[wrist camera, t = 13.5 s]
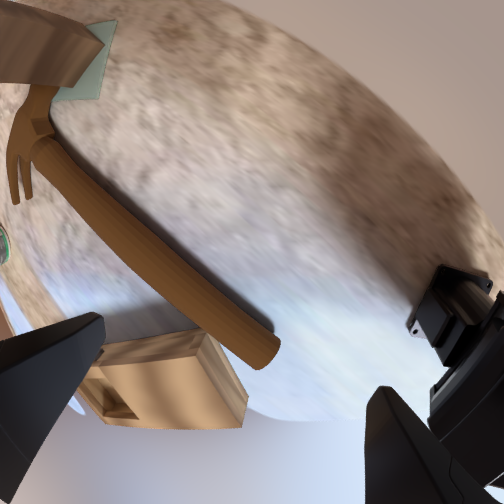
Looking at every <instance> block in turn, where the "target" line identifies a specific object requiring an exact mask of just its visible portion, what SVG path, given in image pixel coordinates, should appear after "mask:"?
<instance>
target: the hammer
mask: <svg viewBox="0 0 504 504" xmlns="http://www.w3.org/2000/svg"><path fill="white" fill-rule="evenodd" d="M59 89H60V87H59V86H49V85H37V84H31V85H30V89H29V94H28V97H27V99H26V101H25V102H24V104H23V105H22V106H21V107H20V108H19V109H18V111H17V113H16V115H15V118H14V121H13V125H12V129H11V132H10V136H9V140H8V145H7V151H6V167H7V175H8V181H9V187H10V193H11V198H12V203H13V205H17V204H19V203H20V197H19V189H18V172H17V171H18V170H17V168H18V166H17V163H18V156H19V155H20V169H21V175H22V181H23V186H24V192H25V198H26V200H29V199H31V198H32V197H33V195H32V187H31V177H30V161H32V162H33V164H34V166H35V168H36V169H37V170H38V171H39V172H40V173H41V174H42V175H43V176H44V177H45V178H46V179H47V180H48V181H49V182H50V183H51V184H52V185H53V186H54V187H55V188H56V189H57V190H59V192H60V193H61V194H62V195H63V196H64V198H65V199H66V200H67V201H68V202H69V203H70V205H71V206H72V207H73V208H74V209H75V210H76V211H77V213H78V214H79V215H80V216H81V217H82V218H83V219H84V220H85V222H86V223H87V224H88V225H89V226H90V227H91V228H92V229H93V230H94V231H95V233H96V234H97V235H98V236H99V237H100V238H101V239H102V240H103V241H104V242H105V243H106V244H107V245H108V246H109V247H110V248H111V249H112V250H113V252H114V253H115V254H116V255H117V256H118V257H119V258H120V259H121V260H122V261H123V262H124V263H125V264H126V265H127V266H128V267H130V268H131V269H132V270H133V271H134V272H135V273H136V274H137V275H138V276H139V277H141V278H142V279H143V280H144V281H145V282H146V283H147V284H149V285H150V286H151V287H152V288H153V289H154V290H155V291H157V292H158V293H159V294H160V295H161V296H162V297H164V298H165V299H166V300H167V301H168V302H170V303H171V304H172V305H173V306H174V307H176V308H177V309H178V310H179V311H180V312H182V313H183V314H184V315H185V316H187V317H188V318H189V319H190V320H192V321H193V322H194V323H195V324H197V325H198V326H199V327H200V328H202V329H203V330H204V331H205V332H207V333H208V334H209V335H211V336H212V337H213V338H215V339H216V340H217V341H218V342H220V343H221V344H222V345H223V346H225V347H226V348H227V349H229V350H230V351H231V352H232V353H234V354H235V355H236V356H237V357H239V358H240V359H241V360H243V361H244V362H245V363H247V364H248V365H249V366H251V367H252V368H253V369H255V370H260V369H262V368H264V367H265V366H267V365H268V364H269V363H270V362H271V361H272V360H273V358H274V357H275V356H276V354H277V352H278V350H279V348H280V345H281V340H280V339H279V338H278V337H277V336H275V335H274V334H273V333H271V332H270V331H269V330H267V329H266V328H265V327H263V326H262V325H261V324H259V323H258V322H257V321H255V320H254V319H253V318H252V317H250V316H249V315H248V314H246V313H245V312H244V311H243V310H241V309H240V308H239V307H238V306H237V305H235V304H234V303H233V302H232V301H231V300H229V299H228V298H227V297H226V296H225V295H223V294H222V293H221V292H220V291H219V290H217V289H216V288H215V287H214V286H213V285H212V284H210V283H209V282H208V281H207V280H206V279H205V278H203V277H202V276H201V275H200V274H199V273H198V272H197V271H195V270H194V269H193V268H192V267H191V266H190V265H189V264H187V263H186V262H185V261H184V260H183V259H182V258H181V257H180V256H178V255H177V254H176V253H175V252H174V251H173V250H172V249H171V248H169V247H168V246H167V245H166V244H165V243H164V242H163V241H162V240H161V239H160V238H158V237H157V236H156V235H155V234H154V233H153V232H152V231H150V230H149V229H148V228H147V227H146V226H145V225H143V224H142V223H141V222H140V221H139V220H138V219H136V218H135V217H134V216H133V215H132V214H131V213H129V212H128V211H127V210H126V209H125V208H124V207H123V206H121V205H120V204H119V203H118V202H117V201H116V200H115V199H113V198H112V197H111V196H110V195H109V194H108V193H107V192H106V191H104V190H103V189H102V188H101V187H100V186H99V185H98V184H97V183H95V182H94V181H93V180H92V179H91V178H90V177H89V176H88V175H87V174H86V173H84V172H83V171H82V170H81V169H80V168H79V167H78V166H77V165H76V164H75V162H74V161H73V160H72V159H71V158H70V157H69V155H68V154H67V153H66V152H65V150H64V149H63V148H62V146H61V145H60V144H59V143H58V142H56V141H54V140H53V139H54V136H55V132H54V130H53V128H52V126H51V124H50V122H49V120H48V112H49V108H50V104H51V101H52V99H53V98H54V97H55V95H56V94H57V92H58V91H59Z"/></svg>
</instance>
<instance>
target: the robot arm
mask: <svg viewBox="0 0 504 504" xmlns="http://www.w3.org/2000/svg"><path fill="white" fill-rule="evenodd" d="M443 269H444V272H443V273H441V271H442V270H443ZM488 283H489V284H488ZM487 284H488V286H487ZM492 286H493V282H492V280H490V279H489V278H486V277H483V276H480V275H477V274H474V273H471V272H468V271H465V270H461V269H458V268H455V267H452V266H448V265H445V264H441V265H439V266H438V268H437V270H436V272H435V274H434V277H433V279H432V282H431V284H430V286H429V288H428V289H427V291H426V293H425V295H424V298H423V300H422V302H421V304H420V306H419V308H418V310H417V312H416V314H415V318H414V320H413V322H412V324H411V326H410V328H409V333H410V335H411V336H412V337H418V338H424V339H427V340H428V341H429V343H430V345H431V347H432V348H434V349H435V351H436V353H437V355H438V357H439V359H440V360H441V362H442V364H443V366H444V367H448V368H449V369H448V371H447V372H446V373H445V374H444V375H443V377H442V378H441V379H440V380H439V381H438V383H437V384H434V385H433V387H432V388H431V389H430V416H429V417H428V418H427V424H428V427H429V428H428V427H427V426H426V425H425V424H424V423H423V422H422V421H421V419H420V418H419V417H418V416H417V415H416V414H415V413H414V411H413V410H412V409H411V408H410V407H409V406H408V405H407V404H406V402H405V401H404V400H403V399H402V398H401V397H400V396H399V395H398V393H397V392H396V391H395V390H394V389H393V388H392V387H390V386H379V387H378V388H377V390H376V391H375V393H374V394H373V395H372V397H371V398H370V400H369V401H368V404H367V408H366V428H365V444H364V454H365V504H502V503H500V502H498V501H497V500H496V499H494V498H493V497H492V496H491V495H490V494H489V493H488V492H487V491H486V490H485V489H484V488H485V487H486V486H488V485H489V486H493V487H498V488H501V489H504V292H503V291H501V290H500V291H499V293H498V294H497V296H496V298H497V299H496V301H495V302H494V301H493V300H492V298H491V297H490V296H489V293H490V291H491V288H492ZM415 329H416V331H414V330H415ZM413 331H414V332H413ZM104 340H105V326H104V318H103V316H102V315H100V314H97V313H95V312H89V313H86V314H83V315H80V316H77V317H74V318H71V319H67V320H64V321H61V322H58V323H55V324H52V325H49V326H46V327H43V328H39V329H36V330H33V331H30V332H27V333H24V334H21V335H18V336H14V337H11V338H8V339H5V341H4V340H2V341H0V499H1V500H2V501H4V502H5V503H7V504H10V502H11V501H12V499H13V497H14V495H15V493H16V491H17V489H18V487H19V485H20V483H21V482H22V480H23V478H24V476H25V474H26V472H27V471H28V469H29V467H30V465H31V463H32V461H33V459H34V458H35V456H36V454H37V452H38V451H39V449H40V447H41V446H42V444H43V442H44V441H45V439H46V437H47V436H48V434H49V432H50V430H51V429H52V427H53V426H54V424H55V423H56V421H57V419H58V417H59V416H60V415H61V413H62V411H63V410H64V408H65V407H66V405H67V404H68V402H69V400H70V399H71V397H72V396H73V394H74V393H75V391H76V390H77V388H78V387H79V385H80V384H81V382H82V381H83V379H84V378H85V376H86V374H87V373H88V371H89V369H90V367H91V365H92V363H93V361H94V359H95V357H96V356H97V354H98V352H99V350H100V348H101V346H102V344H103V343H104Z"/></svg>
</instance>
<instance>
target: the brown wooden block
mask: <svg viewBox="0 0 504 504" xmlns="http://www.w3.org/2000/svg"><path fill="white" fill-rule="evenodd" d="M104 46H105V44H104V43H103V42H102V41H101V40H99V39H98V38H97V37H96V36H95V35H94V34H93V33H92V32H91V31H90V30H89V29H87V28H86V27H85V26H84V25H83V24H82V23H79V22H76V21H74V20H71V19H68V18H65V17H63V16H60V15H57V14H54V13H51V12H48V11H45V10H41V9H38V8H35V7H31V6H28V5H24V4H20V3H16V2H12V1H8V0H0V83H20V84H37V85H49V86H59V87H68V88H73V87H74V86H75V85H76V83H77V82H78V80H79V79H80V77H81V76H82V75H83V73H84V72H85V71H86V69H87V68H88V66H89V65H90V64H91V63H92V61H93V60H94V59H95V57H96V56H97V55H98V54H99V52H100V51H101V50H102V49H103V47H104Z"/></svg>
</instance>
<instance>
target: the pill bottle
mask: <svg viewBox="0 0 504 504" xmlns="http://www.w3.org/2000/svg"><path fill="white" fill-rule="evenodd" d="M10 255H11V248H10V242H9V239H8V236H7V234H6V232H5V230H4V229H3V228H2V227H1V226H0V265H2V264H3V263H5V262H7V261H8V260H9V258H10Z"/></svg>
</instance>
